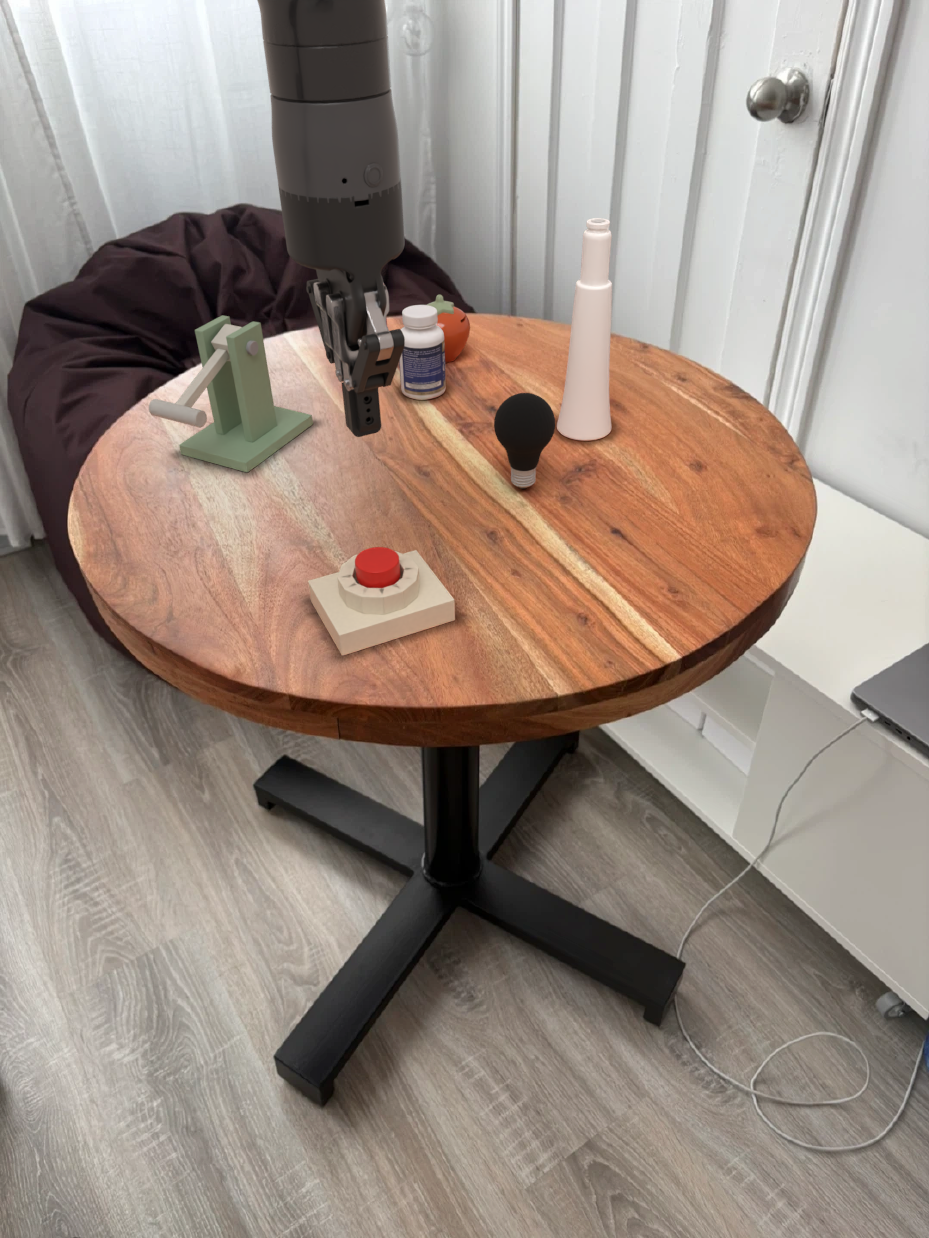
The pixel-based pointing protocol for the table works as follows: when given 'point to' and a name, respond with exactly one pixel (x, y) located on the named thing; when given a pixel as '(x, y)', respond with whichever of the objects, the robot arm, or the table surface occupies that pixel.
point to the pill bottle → (422, 354)
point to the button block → (380, 604)
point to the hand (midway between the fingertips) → (364, 430)
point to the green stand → (241, 404)
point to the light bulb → (524, 434)
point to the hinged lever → (196, 386)
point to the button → (377, 567)
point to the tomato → (451, 327)
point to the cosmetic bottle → (590, 342)
